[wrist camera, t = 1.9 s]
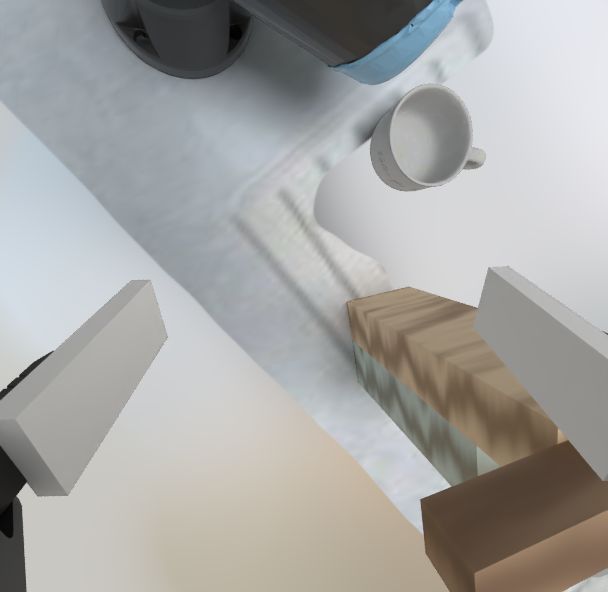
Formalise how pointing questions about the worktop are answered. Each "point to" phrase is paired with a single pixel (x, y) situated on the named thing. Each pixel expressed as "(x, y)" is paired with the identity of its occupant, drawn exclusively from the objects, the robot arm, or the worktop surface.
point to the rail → (520, 526)
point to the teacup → (424, 140)
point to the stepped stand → (445, 384)
